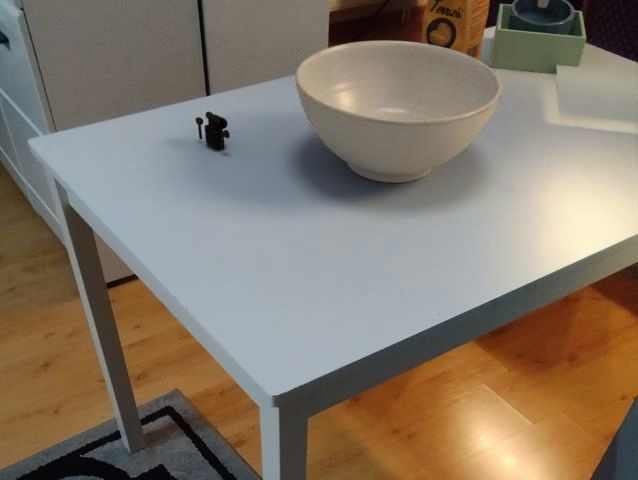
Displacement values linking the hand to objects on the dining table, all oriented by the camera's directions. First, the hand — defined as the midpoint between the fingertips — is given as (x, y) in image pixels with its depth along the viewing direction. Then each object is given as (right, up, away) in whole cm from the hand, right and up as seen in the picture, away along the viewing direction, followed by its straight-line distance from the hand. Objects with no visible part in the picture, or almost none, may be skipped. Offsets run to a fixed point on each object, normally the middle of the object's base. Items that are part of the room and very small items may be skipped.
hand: (541, 4), depth 127 cm
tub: (-1, -9, +1) cm, 9 cm away
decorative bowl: (-31, -38, -30) cm, 57 cm away
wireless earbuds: (-56, -35, -27) cm, 72 cm away
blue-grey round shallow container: (-1, -5, -1) cm, 5 cm away
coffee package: (-19, -15, -5) cm, 24 cm away
